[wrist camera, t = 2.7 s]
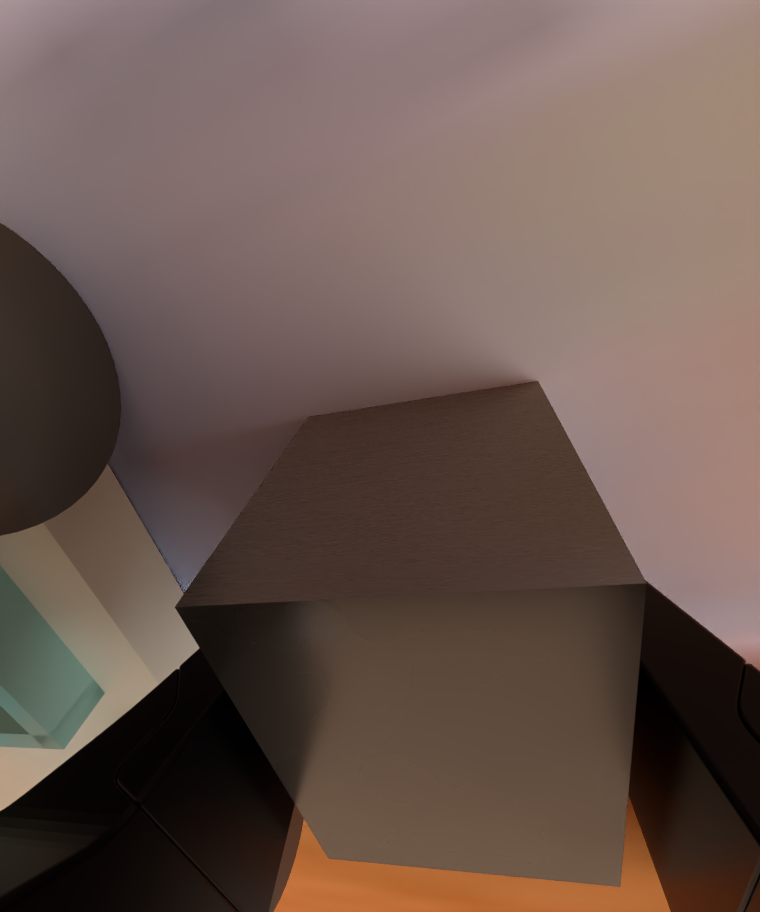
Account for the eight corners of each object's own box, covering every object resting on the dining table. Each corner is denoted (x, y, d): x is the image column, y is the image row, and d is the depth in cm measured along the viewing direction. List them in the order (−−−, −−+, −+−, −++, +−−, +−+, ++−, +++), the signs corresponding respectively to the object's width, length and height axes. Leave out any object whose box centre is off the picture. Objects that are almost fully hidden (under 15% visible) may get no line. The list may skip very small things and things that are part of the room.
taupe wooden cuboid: (550, 611, 11) (620, 886, 6) (374, 618, 12) (328, 858, 7) (538, 380, 8) (646, 583, 3) (309, 416, 9) (174, 607, 5)
